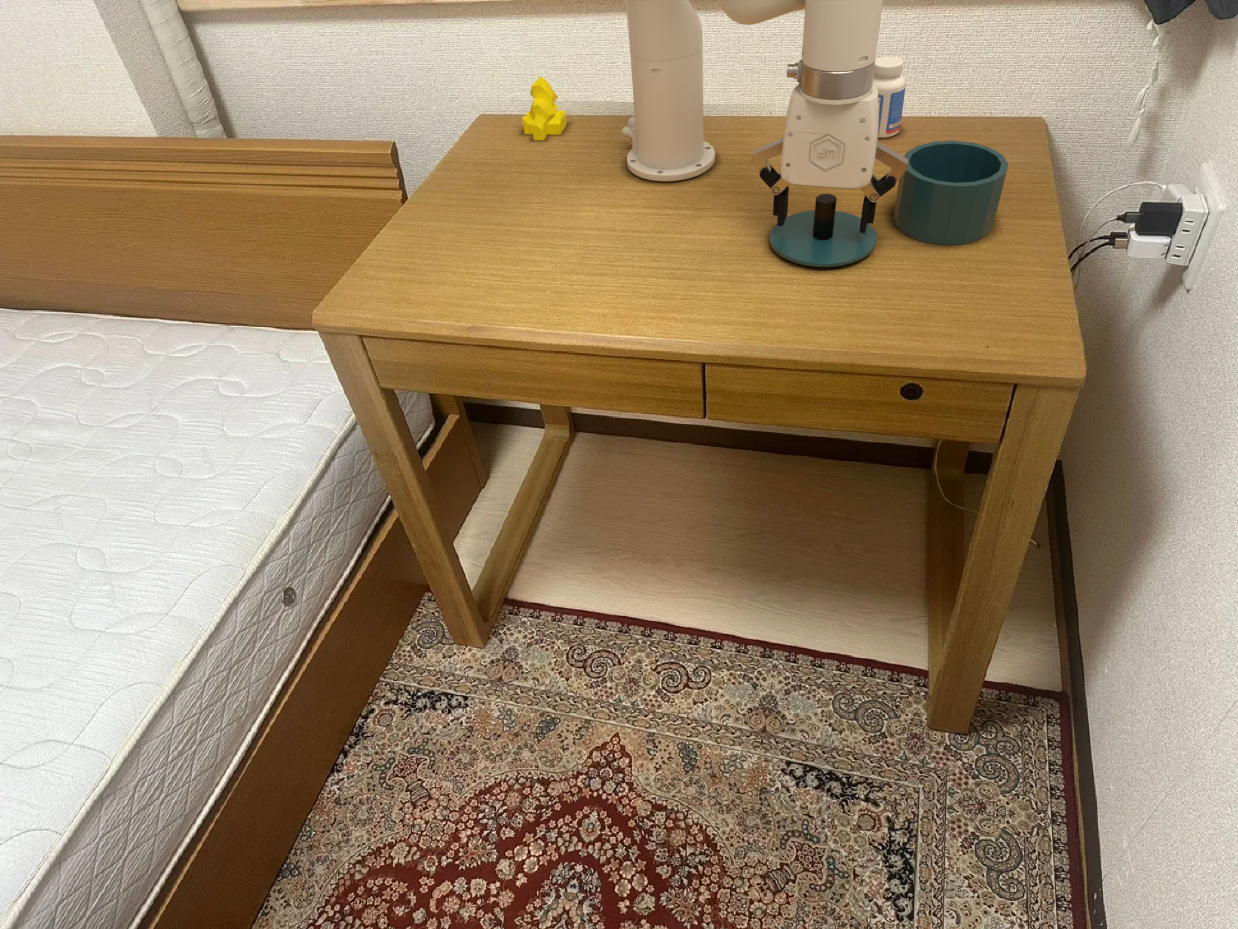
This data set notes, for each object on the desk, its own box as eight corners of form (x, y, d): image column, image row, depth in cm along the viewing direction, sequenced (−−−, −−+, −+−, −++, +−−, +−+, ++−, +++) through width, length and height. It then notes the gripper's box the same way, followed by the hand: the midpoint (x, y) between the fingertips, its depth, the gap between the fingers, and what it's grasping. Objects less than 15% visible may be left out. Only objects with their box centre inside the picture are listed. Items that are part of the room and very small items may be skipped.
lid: (747, 246, 104) (749, 202, 100) (813, 207, 110) (817, 163, 106) (831, 283, 97) (836, 237, 93) (897, 239, 103) (904, 194, 99)
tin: (874, 223, 106) (882, 165, 100) (928, 189, 111) (939, 132, 106) (958, 255, 99) (971, 195, 94) (1011, 217, 104) (1027, 158, 99)
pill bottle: (897, 122, 126) (907, 52, 119) (902, 138, 122) (912, 67, 115) (858, 123, 126) (866, 54, 120) (862, 139, 123) (871, 69, 116)
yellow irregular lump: (520, 139, 132) (512, 88, 127) (535, 118, 138) (527, 68, 132) (556, 140, 131) (550, 88, 125) (569, 118, 136) (563, 68, 131)
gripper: (748, 87, 90) (744, 233, 102) (919, 94, 85) (894, 246, 97) (761, 61, 95) (756, 203, 107) (924, 66, 90) (900, 214, 102)
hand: (822, 224), depth 102 cm, fingers open, 9 cm apart
